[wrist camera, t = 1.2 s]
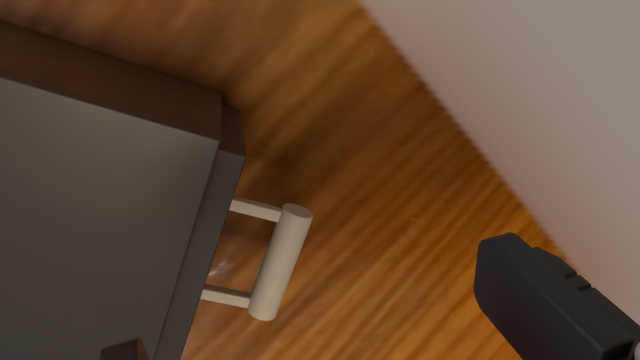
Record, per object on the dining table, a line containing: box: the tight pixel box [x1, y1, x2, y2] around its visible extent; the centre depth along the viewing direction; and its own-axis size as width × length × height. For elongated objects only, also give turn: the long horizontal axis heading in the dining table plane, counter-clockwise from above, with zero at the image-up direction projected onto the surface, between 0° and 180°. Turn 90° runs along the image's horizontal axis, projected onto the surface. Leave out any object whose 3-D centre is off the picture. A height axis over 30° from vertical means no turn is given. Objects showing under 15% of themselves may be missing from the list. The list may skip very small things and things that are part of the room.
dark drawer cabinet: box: [0, 20, 222, 360], centre depth 23 cm, size 16×13×11 cm
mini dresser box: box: [154, 105, 313, 360], centre depth 24 cm, size 19×11×9 cm, turn 69°
